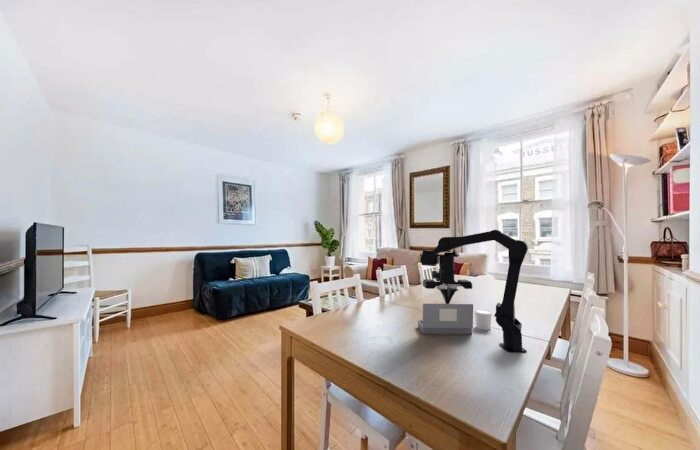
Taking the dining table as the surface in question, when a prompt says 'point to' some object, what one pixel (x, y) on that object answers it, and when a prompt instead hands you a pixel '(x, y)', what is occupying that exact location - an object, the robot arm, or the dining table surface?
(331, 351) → the dining table surface
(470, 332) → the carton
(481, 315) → the shot glass
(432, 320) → the lid flap
